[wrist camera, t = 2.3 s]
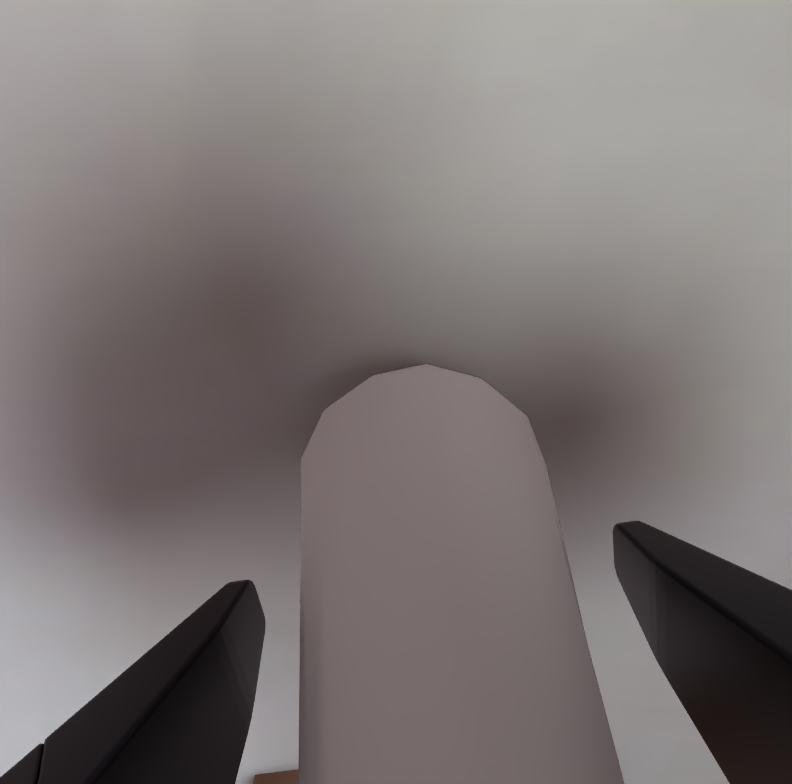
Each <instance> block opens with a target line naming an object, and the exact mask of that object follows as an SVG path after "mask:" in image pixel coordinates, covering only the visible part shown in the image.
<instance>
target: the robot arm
mask: <svg viewBox="0 0 792 784" xmlns="http://www.w3.org/2000/svg"><path fill="white" fill-rule="evenodd" d="M613 546H614V565H615V570H616V574H617V576H618V579H619V581H620V583H621V585H622V588H623V590H624V592H625V594H626V596H627V598H628V600H629V603H630V605H631V607H632V609H633V611H634V613H635V615H636V618H637V620H638V622H639V624H640V626H641V628H642V631H643V633H644V635H645V637H646V639H647V641H648V643H649V646H650V648H651V650H652V652H653V654H654V656H655V658H656V660H657V662H658V664H659V665H660V667H661V669H662V671H663V673H664V674H665V676H666V678H667V679H668V681H669V683H670V684H671V686H672V688H673V689H674V691H675V693H676V694H677V696H678V698H679V699H680V701H681V703H682V704H683V706H684V708H685V709H686V711H687V713H688V714H689V716H690V718H691V719H692V721H693V723H694V724H695V726H696V728H697V729H698V731H699V733H700V735H701V736H702V738H703V740H704V741H705V743H706V745H707V746H708V748H709V750H710V751H711V753H712V755H713V756H714V758H715V760H716V761H717V763H718V765H719V766H720V768H721V770H722V771H723V773H724V775H725V776H726V778H727V780H728V781H729V783H730V784H792V590H790V589H788V588H786V587H784V586H782V585H779V584H777V583H775V582H773V581H771V580H768V579H766V578H764V577H762V576H760V575H757V574H755V573H753V572H751V571H749V570H746V569H744V568H742V567H740V566H738V565H735V564H733V563H731V562H729V561H727V560H724V559H722V558H720V557H718V556H716V555H713V554H711V553H709V552H707V551H705V550H702V549H700V548H698V547H696V546H694V545H691V544H689V543H687V542H685V541H683V540H680V539H678V538H676V537H674V536H672V535H669V534H667V533H665V532H663V531H661V530H658V529H656V528H654V527H652V526H650V525H647V524H645V523H643V522H641V521H630V522H624V523H618V524H616V525H615V526H614V528H613ZM264 635H265V616H264V613H263V610H262V606H261V603H260V600H259V597H258V594H257V591H256V588H255V585H254V583H253V582H252V581H250V580H242V581H235V582H230V583H228V584H226V585H225V586H224V587H223V588H221V589H220V590H219V591H218V592H217V593H216V594H214V595H213V596H212V597H211V598H210V599H209V600H207V601H206V602H205V603H204V604H203V605H202V606H200V607H199V608H198V609H197V610H196V611H195V612H193V613H192V614H191V615H190V616H189V617H188V618H186V619H185V620H184V621H183V622H182V623H181V624H179V625H178V626H177V627H176V628H175V629H174V630H172V631H171V632H170V633H169V634H168V635H167V636H165V637H164V638H163V639H162V640H161V641H159V642H158V643H157V644H156V645H155V646H154V647H152V648H151V649H150V650H149V651H148V652H147V653H145V654H144V655H143V656H142V657H141V658H140V659H138V660H137V661H136V662H135V663H134V664H133V665H131V666H130V667H129V668H128V669H127V670H126V671H124V672H123V673H122V674H121V675H120V676H119V677H117V678H116V679H115V680H114V681H113V682H112V683H110V684H109V685H108V686H107V687H106V688H105V689H103V690H102V691H101V692H100V693H99V694H98V695H96V696H95V697H94V698H93V699H92V700H90V701H89V702H88V703H87V704H86V705H85V706H83V707H82V708H81V709H80V710H79V711H78V712H76V713H75V714H74V715H73V716H72V717H71V718H69V719H68V720H67V721H66V722H65V723H64V724H62V725H61V726H60V727H59V728H58V729H57V730H55V731H54V732H53V733H52V734H51V735H50V736H48V737H47V738H46V739H45V742H44V744H39V745H38V746H36V747H35V748H34V749H33V750H32V751H31V752H30V753H28V754H27V755H26V756H25V757H24V758H23V759H21V760H20V761H19V762H18V763H17V764H16V765H14V766H13V767H12V768H11V769H10V770H8V771H7V772H6V773H5V774H4V775H2V776H1V777H0V784H235V781H236V777H237V773H238V769H239V766H240V762H241V758H242V754H243V750H244V746H245V742H246V738H247V735H248V730H249V726H250V722H251V718H252V712H253V706H254V700H255V694H256V687H257V681H258V674H259V667H260V661H261V654H262V648H263V641H264Z"/></svg>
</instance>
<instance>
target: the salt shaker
mask: <svg viewBox="0 0 792 784" xmlns="http://www.w3.org/2000/svg"><path fill="white" fill-rule="evenodd" d="M299 784H624V780H623V777H622V773H621V769H620V765H619V761H618V758H617V754H616V750H615V746H614V742H613V739H612V735H611V731H610V727H609V724H608V720H607V716H606V712H605V708H604V705H603V701H602V697H601V693H600V689H599V686H598V682H597V678H596V674H595V671H594V667H593V663H592V659H591V655H590V652H589V648H588V644H587V640H586V636H585V631H584V627H583V623H582V618H581V614H580V610H579V605H578V601H577V597H576V592H575V588H574V584H573V579H572V575H571V571H570V566H569V562H568V558H567V553H566V549H565V545H564V540H563V536H562V532H561V527H560V523H559V519H558V514H557V510H556V506H555V501H554V497H553V493H552V488H551V484H550V480H549V475H548V471H547V467H546V463H545V461H544V458H543V455H542V453H541V450H540V448H539V445H538V443H537V440H536V437H535V435H534V432H533V430H532V427H531V424H530V422H529V419H528V417H527V416H526V415H525V414H524V413H523V412H522V411H520V410H519V409H518V408H517V407H516V406H514V405H513V404H512V403H511V402H509V401H508V400H507V399H506V398H505V397H503V396H502V395H501V394H500V393H499V392H497V391H496V390H495V389H494V388H493V387H491V386H490V385H489V384H488V383H487V382H485V381H484V380H482V379H481V378H479V377H475V376H471V375H467V374H463V373H460V372H456V371H452V370H448V369H444V368H441V367H437V366H433V365H429V364H423V365H419V366H414V367H409V368H404V369H400V370H395V371H390V372H386V373H381V374H376V375H373V376H371V377H370V378H368V379H367V380H366V381H364V382H363V383H361V384H360V385H358V386H357V387H356V388H354V389H353V390H351V391H350V392H348V393H347V394H346V395H344V396H343V397H341V398H340V399H339V400H337V401H336V402H334V403H333V404H331V405H330V406H329V407H328V408H327V409H325V410H324V411H323V413H322V415H321V417H320V419H319V421H318V423H317V426H316V428H315V430H314V432H313V434H312V436H311V438H310V441H309V443H308V445H307V447H306V449H305V451H304V453H303V456H302V458H301V594H300V690H299Z"/></svg>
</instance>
